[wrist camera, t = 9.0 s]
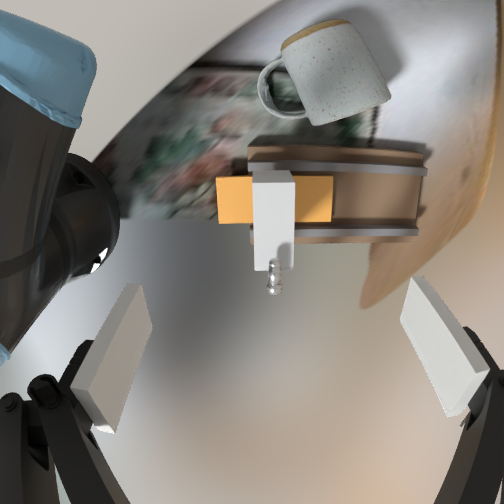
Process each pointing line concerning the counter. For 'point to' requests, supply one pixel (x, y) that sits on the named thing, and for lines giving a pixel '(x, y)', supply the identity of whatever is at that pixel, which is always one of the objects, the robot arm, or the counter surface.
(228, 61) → the counter surface
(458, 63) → the counter surface
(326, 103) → the ceramic mug
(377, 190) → the brown piece
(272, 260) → the keeper hook
